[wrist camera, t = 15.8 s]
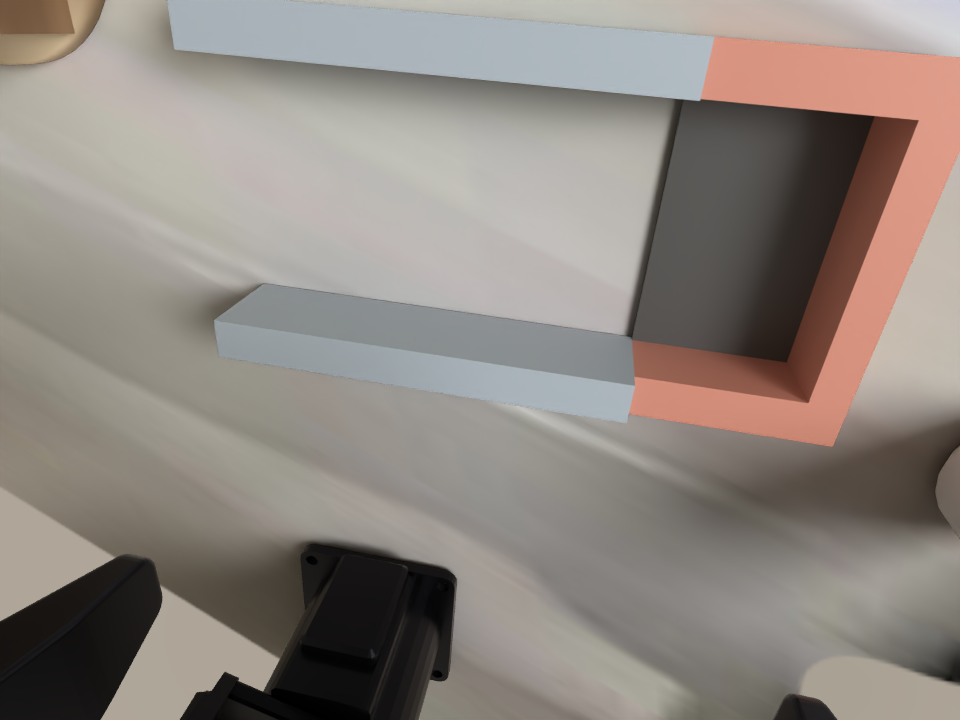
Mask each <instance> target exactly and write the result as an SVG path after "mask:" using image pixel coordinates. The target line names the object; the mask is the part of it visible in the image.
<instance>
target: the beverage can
mask: <svg viewBox="0 0 960 720" xmlns="http://www.w3.org/2000/svg"><path fill="white" fill-rule="evenodd" d="M935 493H936V497H937V502H938V507H939V509H940V511H941V512H942V514H943V515H944V517H945V518H946V520H947V521H948V523H949V524H950V525H951V527H952V528H953V530H954V531H955V533H956V534H957V536H958V537H959V539H960V446H958V447H957V448H956V449H955V450H954V451H953V452H952V454H951V455H950V457H949V458H948V460H947V461H946V463H945V464H944V466H943V467H942V469H941V471H940V472H939V475H938V480H937V485H936V490H935Z"/></svg>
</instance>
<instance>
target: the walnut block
mask: <svg viewBox="0 0 960 720" xmlns="http://www.w3.org/2000/svg"><path fill="white" fill-rule="evenodd" d="M0 34H75V31H74V27H73V23H72V19H71V14H70V10H69V5H68V1H67V0H0Z"/></svg>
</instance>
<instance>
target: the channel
mask: <svg viewBox="0 0 960 720" xmlns="http://www.w3.org/2000/svg"><path fill="white" fill-rule="evenodd" d="M167 4H168V11H169V18H170V25H171V32H172V38H173V45H174V50H183V51H193V52H203V53H213V54H223V55H234V56H244V57H254V58H264V59H275V60H285V61H295V62H305V63H316V64H326V65H336V66H346V67H357V68H367V69H377V70H387V71H398V72H408V73H418V74H428V75H439V76H449V77H459V78H469V79H480V80H490V81H500V82H510V83H521V84H531V85H541V86H551V87H562V88H572V89H582V90H592V91H603V92H613V93H623V94H633V95H644V96H654V97H664V98H674V99H685V100H695V101H700V99H701V95H702V90H703V86H704V82H705V77H706V73H707V68H708V64H709V60H710V55H711V51H712V46H713V42H714V38H715V37H712V36H700V35H688V34H677V33H665V32H653V31H641V30H629V29H618V28H606V27H594V26H582V25H570V24H559V23H547V22H535V21H523V20H511V19H500V18H488V17H476V16H464V15H453V14H441V13H429V12H417V11H405V10H394V9H382V8H370V7H358V6H346V5H335V4H323V3H311V2H299V1H287V0H167ZM214 327H215V334H216V341H217V348H218V354H219V357H222V358H228V359H234V360H240V361H247V362H253V363H259V364H265V365H271V366H277V367H283V368H289V369H296V370H302V371H308V372H314V373H320V374H326V375H332V376H339V377H345V378H351V379H357V380H363V381H369V382H375V383H382V384H388V385H394V386H400V387H406V388H412V389H418V390H425V391H431V392H437V393H443V394H449V395H455V396H461V397H467V398H474V399H480V400H486V401H492V402H498V403H504V404H510V405H517V406H523V407H529V408H535V409H541V410H547V411H553V412H560V413H566V414H572V415H578V416H584V417H590V418H596V419H602V420H609V421H615V422H621V423H627V420H628V415H629V411H630V407H631V402H632V398H633V393H634V389H635V376H634V361H633V347H632V337H628V336H621V335H614V334H607V333H601V332H594V331H587V330H580V329H573V328H566V327H559V326H552V325H546V324H539V323H532V322H525V321H518V320H511V319H504V318H498V317H491V316H484V315H477V314H470V313H463V312H456V311H449V310H443V309H436V308H429V307H422V306H415V305H408V304H401V303H395V302H388V301H381V300H374V299H367V298H360V297H353V296H347V295H340V294H333V293H326V292H319V291H312V290H305V289H298V288H292V287H285V286H278V285H271V284H263V285H261V286H260V287H258V288H257V289H256V290H254V291H253V292H252V293H250V294H249V295H248V296H246V297H245V298H243V299H242V300H241V301H239V302H238V303H237V304H235V305H234V306H233V307H231V308H230V309H228V310H227V311H226V312H224V313H223V314H222V315H220V316H219V317H218V318H216V319H215V320H214Z"/></svg>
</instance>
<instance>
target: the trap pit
mask: <svg viewBox="0 0 960 720" xmlns="http://www.w3.org/2000/svg"><path fill="white" fill-rule="evenodd" d="M959 152H960V58H959V57H947V56H935V55H924V54H912V53H900V52H888V51H877V50H865V49H853V48H841V47H829V46H818V45H806V44H794V43H782V42H770V41H759V40H747V39H735V38H723V37H715V38H714V42H713V46H712V51H711V55H710V60H709V64H708V68H707V73H706V77H705V82H704V86H703V90H702V95H701V99H700V101H695V100H685V99H683V101H682V106H681V110H680V115H679V120H678V124H677V129H676V134H675V138H674V143H673V148H672V152H671V157H670V162H669V166H668V171H667V176H666V180H665V185H664V190H663V194H662V199H661V203H660V208H659V213H658V217H657V222H656V227H655V231H654V236H653V241H652V245H651V250H650V255H649V259H648V264H647V269H646V273H645V278H644V283H643V287H642V292H641V297H640V301H639V306H638V310H637V315H636V320H635V324H634V329H633V334H632V347H633V361H634V376H635V389H634V393H633V398H632V402H631V407H630V411H629V414H632V415H638V416H644V417H650V418H657V419H663V420H669V421H675V422H681V423H688V424H694V425H700V426H706V427H712V428H719V429H725V430H731V431H737V432H744V433H750V434H756V435H762V436H768V437H775V438H781V439H787V440H793V441H799V442H806V443H812V444H818V445H824V446H831V447H833V445H834V443H835V440H836V438H837V436H838V433H839V431H840V429H841V426H842V424H843V422H844V419H845V417H846V415H847V412H848V410H849V408H850V405H851V403H852V401H853V398H854V396H855V394H856V391H857V389H858V387H859V384H860V382H861V380H862V377H863V375H864V373H865V370H866V368H867V366H868V363H869V361H870V359H871V357H872V354H873V352H874V350H875V347H876V345H877V343H878V340H879V338H880V336H881V333H882V331H883V329H884V326H885V324H886V322H887V319H888V317H889V315H890V312H891V310H892V308H893V305H894V303H895V301H896V298H897V296H898V294H899V291H900V289H901V287H902V284H903V282H904V280H905V277H906V275H907V273H908V270H909V268H910V266H911V264H912V261H913V259H914V257H915V254H916V252H917V250H918V247H919V245H920V243H921V240H922V238H923V236H924V233H925V231H926V229H927V226H928V224H929V222H930V219H931V217H932V215H933V212H934V210H935V208H936V205H937V203H938V201H939V198H940V196H941V194H942V191H943V189H944V187H945V184H946V182H947V180H948V177H949V175H950V173H951V170H952V168H953V166H954V164H955V161H956V159H957V157H958V154H959Z"/></svg>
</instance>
